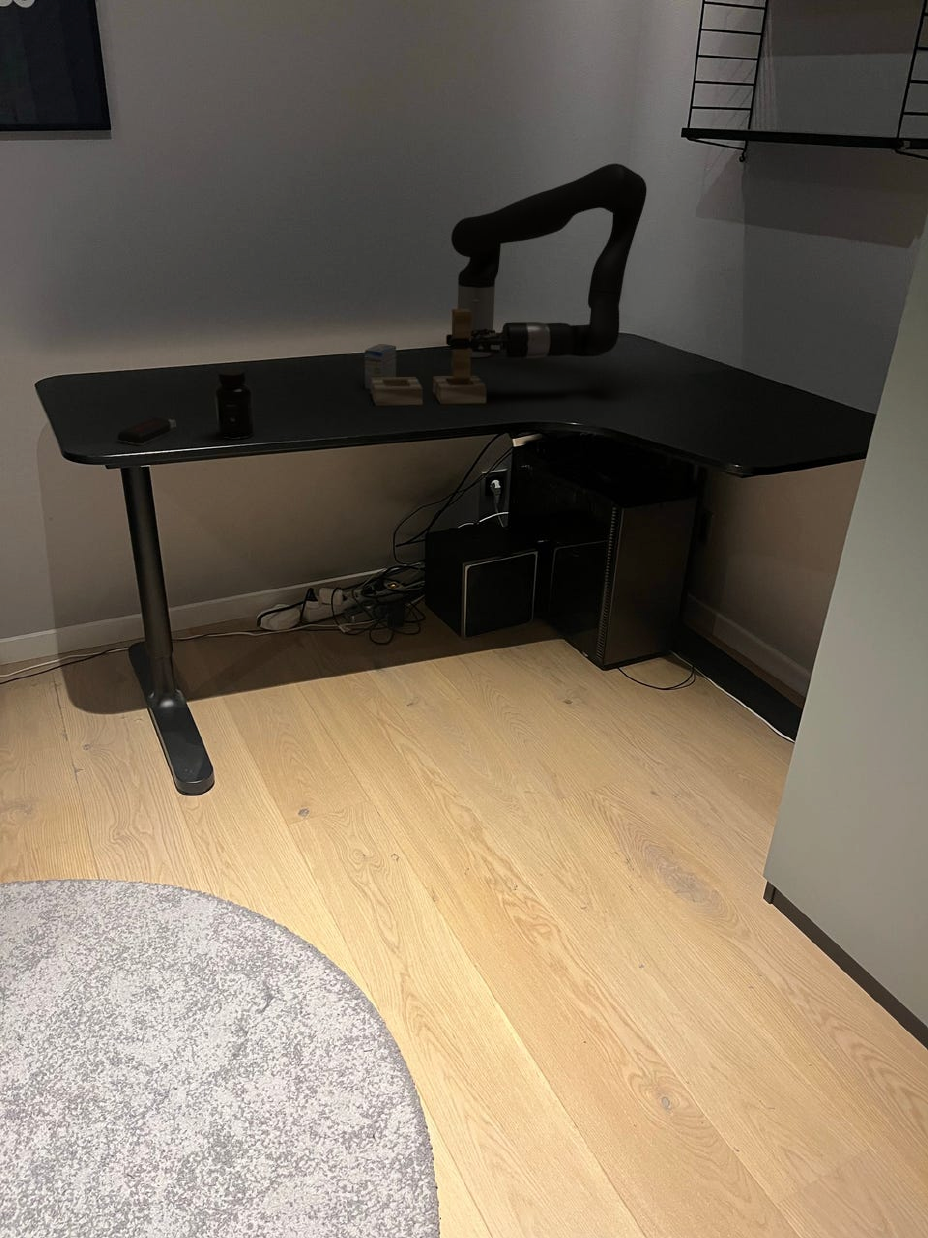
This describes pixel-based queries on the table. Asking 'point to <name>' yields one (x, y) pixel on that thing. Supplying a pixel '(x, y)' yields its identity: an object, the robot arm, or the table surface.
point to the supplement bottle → (234, 405)
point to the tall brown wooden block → (461, 330)
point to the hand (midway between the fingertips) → (448, 341)
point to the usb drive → (147, 430)
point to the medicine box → (380, 363)
